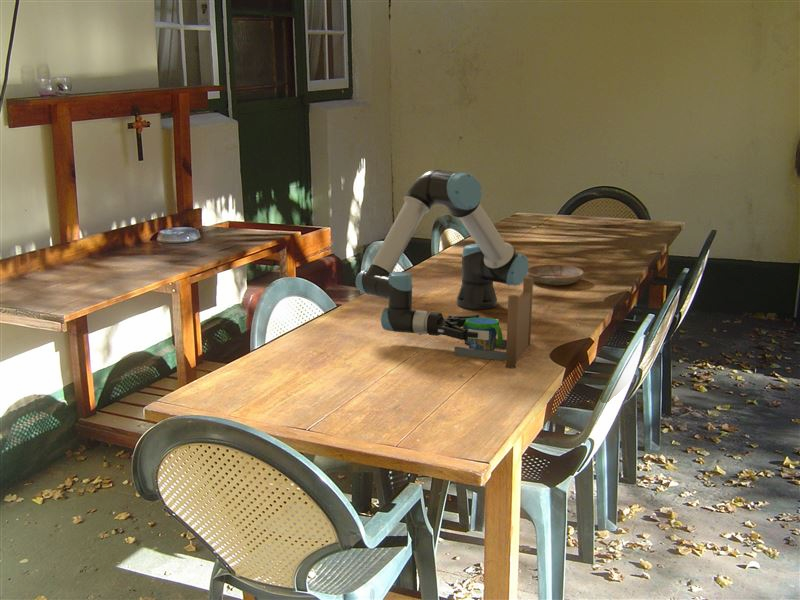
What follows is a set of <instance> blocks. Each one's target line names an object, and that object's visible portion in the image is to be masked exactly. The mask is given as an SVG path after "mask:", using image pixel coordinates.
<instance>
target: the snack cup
mask: <svg viewBox="0 0 800 600" xmlns="http://www.w3.org/2000/svg"><path fill="white" fill-rule="evenodd" d="M496 319H497V318H491V317H479V318H469V319H467V320H466V321H465V323H464V325H463V327H462V328H463V329H466V330H468V329H473V330H483V331H489V340H482V339H472V338H468V341H469V344H468V346H469V347H468V348H472V349H482V350H491V351H495V350H494V349H495V346H494V345H495V341H496V338H497V343H496V345H497V346H499V345H501V344H502V342H503V339H504V338H503V333H502V329H501V326H500V320H499V321H498V320H496Z"/></svg>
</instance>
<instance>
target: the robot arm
mask: <svg viewBox="0 0 800 600" xmlns="http://www.w3.org/2000/svg"><path fill="white" fill-rule="evenodd" d="M482 189H483V188H482V185H481V182H480V181H479V179H478V178H477V177H476V176H475V175H473V174H471V173H467V172H463V171H452V170H445V169H444V170H442V169H431V170H429V171H426V172H424V173H423V174H422V175H420V176H418V178H417V179H416V180H415V181H414V182H413V183H412V184H411V186H410V187H409V189H408V190H407V191H406V194H405V195H404V197H403V201H404V203H403V205H402V207H401V209H400V210H399V213H398V215H397V216H396V218H395V220H394V222H393V223H392V224H391V227H390V229H389V231H388V233H387V235H386V237H385V238H384V240H383V242H382V243H381V245H380V247H379V249H378V251H377V252H376V254H375V256H374V258H373V260H372V261H371V264H370V266H369V267H368V269H365V270H364V269H363V270H361V271H360V272H359V273H357V275H356V278H355V287H356V289H358V291H360V292H361V293H364V294H366V295H369V296H370V295H371V296H375V297H378V298H381V299H385V300H388V307H385V308H384V309H383V310H382V312H381V317H380V323H381V324H380V325H381V327H382V329H383V330H385V331H390V332H394V333H406V334H407V333H408V334H417V335H418V336H422V335H427V334H428V335H429V336H434V337H435V336H436V337H439V336H441V335H442V336H446V337H450V338H453V339H458V340H460V341H464V342H465V341H467V337H468V338H472V339H482V340H489V331H483V330H473V329H468V330H466V329H463V325H464V323H465V321H466V320H467V319H469V318H480V314H476V315H475V314H474V315H448V317H447V318H444V316H443V315H444V314H443V313H442V312H437V311H430V312H429V311H427V310H417V309H416V310H414V309H412V308H413V307H412V306H413V305H412V304H413V281H412V279H413V278H412V274H411V273H409V272H406V271H394V270H395V268H396V267H397V265H398V262H399V261H400V259H401V257H402V256H403V253H404V251H405V249H406V248H407V246H408V244H409V242H410V241H411V239H412V237H413V235H414V233H415V232H416V230H417V227H418V226H419V224H420V223H421V221H422V218H423V217H424V215H425V214H427V213H429V212H430V210H431V208H432V207H433V206H435V205H437V206H443V207H445V208H446V210H447V211H448V212H449V214H450V215H451V216H452V217H453V218H456V219H459V221H460V222H461V223H462V225H463V226H464V227H465V229H466V231H467V232H468V233H469V236H471V238H472V239H473V241H474V242H475V243H471V244H467V245H465V246H463V249H462V256H461V285H460V288H459V291H458V294H457V297H456V305H457V306H458V307H460V308H463V309H468V310H488V309H493V308H496V307H498V306H497V305H498V298H497V294H496V291H495V288H494V282H495V283H497V284H498V283H499V284H503V285H507V286H513V287H516V286H518V285H520V284H522V283H524V278H525V277H527V276H528V275H527V273H528V268H530V264H529V259H528V256H526V255H525V254H523V253H518V252H517V251H516V249H515V248H514V247H513V245H512V244H511V243H510V242H506V241H505V240H504V238H503V237H502V236H501V234H500V233H499V231H498V230H497V228H496V227H495V225H494V224H493V221H491V218H490V217H489V216H488V214H487V213H486V211H485V209H484V207H483V206H482V204H481V203H482V202H481V201H482V196H483V192H482ZM495 319H496V320H498V321H499V322H500V320H499V319H498V318H495Z"/></svg>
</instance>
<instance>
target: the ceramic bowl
mask: <svg viewBox="0 0 800 600" xmlns="http://www.w3.org/2000/svg"><path fill="white" fill-rule="evenodd" d="M584 274H585V273H584V270H583V269H581V268H578V267H576V266H572V265H566V264H565V265H564V264H539V265H533V266H529V268H528V273H527V275H526V276H527V277H531V278H533V282H536V283H539V284H543V285H547V286H567V285H571V284H575V283H576V282H579V281H581V279H583V277H584Z"/></svg>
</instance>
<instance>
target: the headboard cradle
mask: <svg viewBox="0 0 800 600" xmlns="http://www.w3.org/2000/svg"><path fill="white" fill-rule="evenodd" d="M522 283H523V285H522V287H523V288H522V293H521V294H520V296H519V295H516V294H511V295H508V298H507V299H508V301H507V320H506V321H507V324H506V325H507V327H506V338H503V342H502V344H501V345H499V346H497V345H496V343H497V338H498V337H496V341H495V345H494V347H495V346H496V348H497V347H498V348H506V351H500V350H493V351H491V350H482V349H472V348H469V347H462V346H461V347H460V346H454V348H453V349H454V351H453V356H458V357H467V358H475V359H477V358H479V359H484V360H485V359H486V360H494V361H496V360H497V361H503V362H504V361H505V368H507V369H515V368H517V364H518V362H519V360H520V359H521V357H522V355H523V354H524V352H525V350H526V349H527V348H528V346H530V345H531V335H532V318H533V317H532V313H533V311H532V310H533V293H534V292H533V291H534V290H533V289H534V287H533V286H534V280H533V278H531V277H529V276H526V277H525V278H524V281H523V282H522ZM466 343H467V345H469V341H468V337H467V341H464V344H466Z"/></svg>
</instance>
